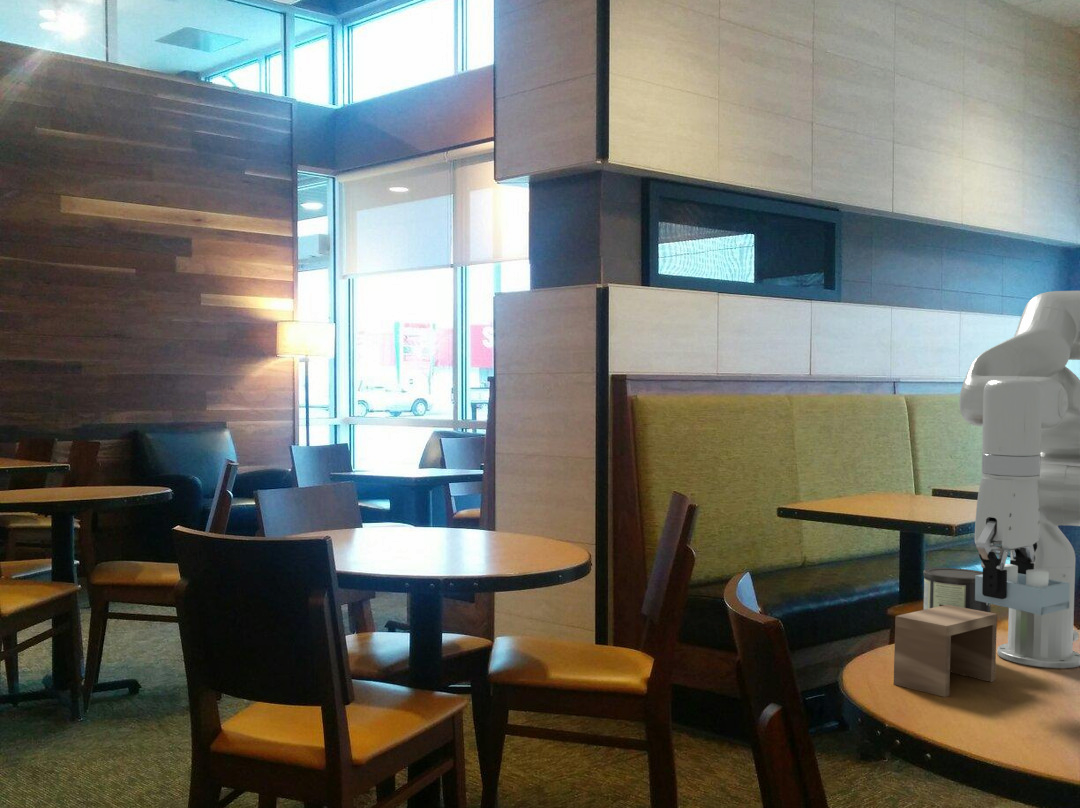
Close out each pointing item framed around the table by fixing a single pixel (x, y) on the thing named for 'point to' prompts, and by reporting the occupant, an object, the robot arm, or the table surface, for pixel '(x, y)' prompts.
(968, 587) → the coffee can
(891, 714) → the table surface
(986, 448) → the robot arm
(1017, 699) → the table surface
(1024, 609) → the tray
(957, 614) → the wooden footstool
